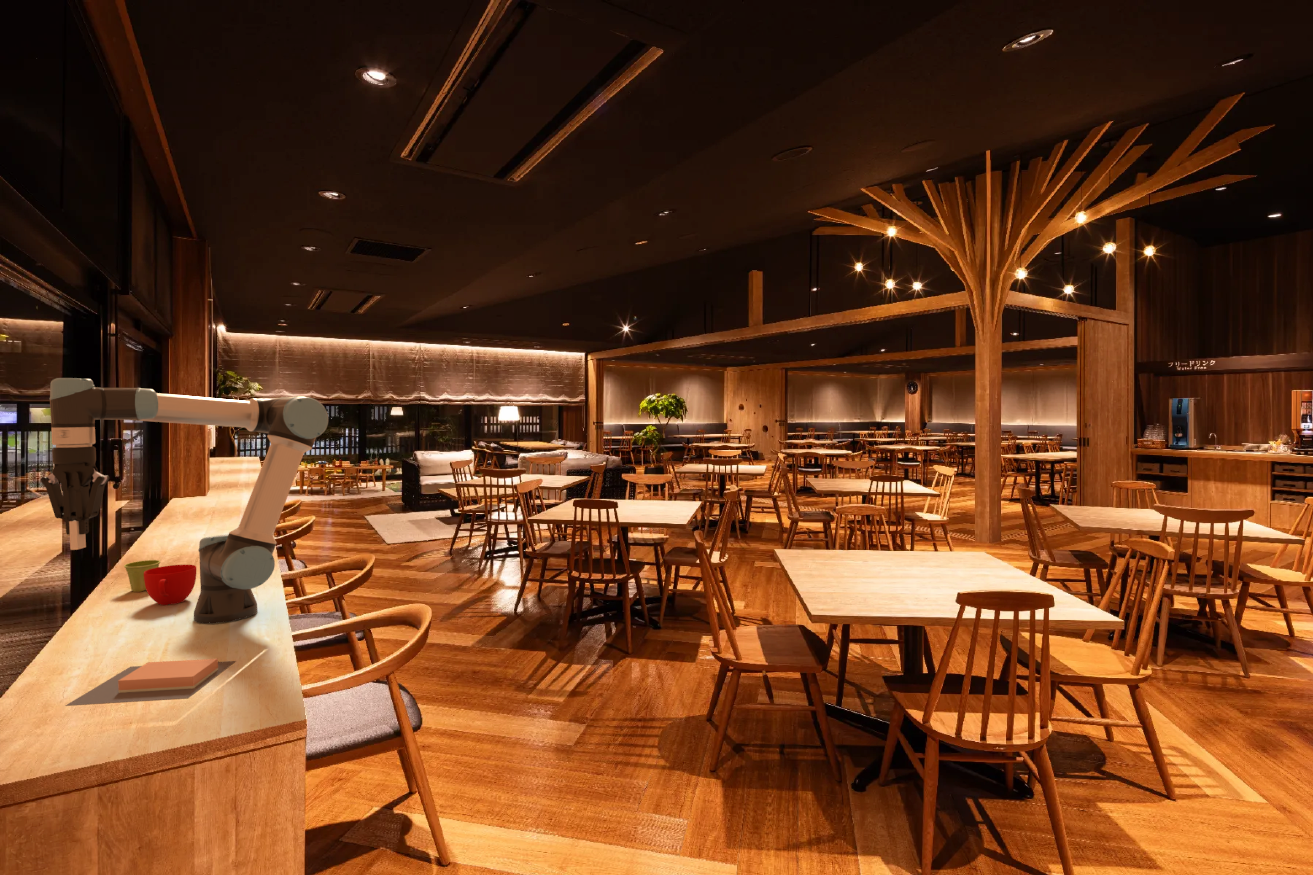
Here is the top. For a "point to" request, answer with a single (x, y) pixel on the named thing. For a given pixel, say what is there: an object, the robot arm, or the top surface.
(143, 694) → the mat
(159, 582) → the ceramic cup
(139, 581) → the plant pot
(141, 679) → the tile
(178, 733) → the top surface
